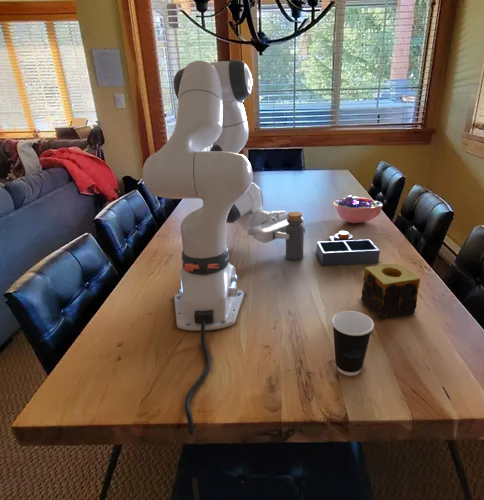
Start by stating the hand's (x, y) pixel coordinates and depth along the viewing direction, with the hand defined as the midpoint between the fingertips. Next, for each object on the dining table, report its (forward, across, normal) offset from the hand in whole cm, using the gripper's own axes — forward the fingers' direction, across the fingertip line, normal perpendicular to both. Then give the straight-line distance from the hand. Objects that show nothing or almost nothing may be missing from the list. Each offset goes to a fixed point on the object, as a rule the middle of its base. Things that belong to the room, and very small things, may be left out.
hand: (296, 233), depth 122 cm
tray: (+13, +11, +8) cm, 19 cm away
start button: (+5, +20, +6) cm, 22 cm away
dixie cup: (+42, -34, +9) cm, 55 cm away
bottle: (-1, 0, +8) cm, 9 cm away
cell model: (-4, +44, +9) cm, 46 cm away
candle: (+37, -8, +9) cm, 39 cm away
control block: (+5, +20, +8) cm, 23 cm away
